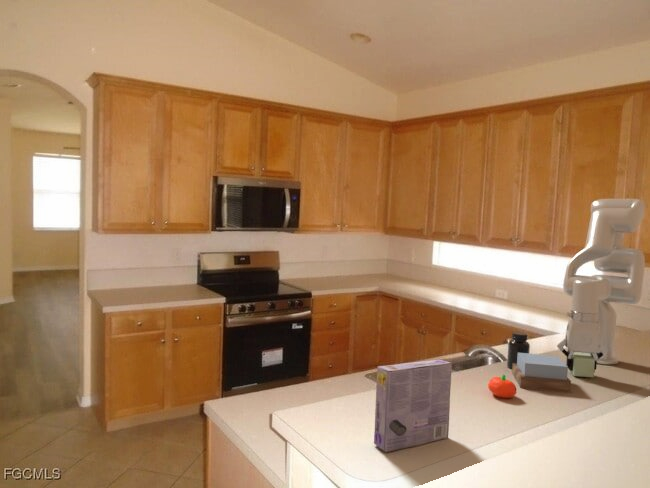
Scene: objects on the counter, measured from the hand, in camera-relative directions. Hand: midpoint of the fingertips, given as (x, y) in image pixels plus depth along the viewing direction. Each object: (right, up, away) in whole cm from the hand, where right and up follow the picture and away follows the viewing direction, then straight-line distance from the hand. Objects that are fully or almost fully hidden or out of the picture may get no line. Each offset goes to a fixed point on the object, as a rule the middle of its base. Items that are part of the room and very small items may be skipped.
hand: (580, 370), depth 161 cm
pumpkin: (-34, -2, -21) cm, 40 cm away
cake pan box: (-65, -3, -51) cm, 83 cm away
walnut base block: (-17, -2, -8) cm, 19 cm away
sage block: (0, -1, 0) cm, 1 cm away
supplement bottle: (-18, -1, +6) cm, 20 cm away
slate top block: (-17, +2, -9) cm, 19 cm away
